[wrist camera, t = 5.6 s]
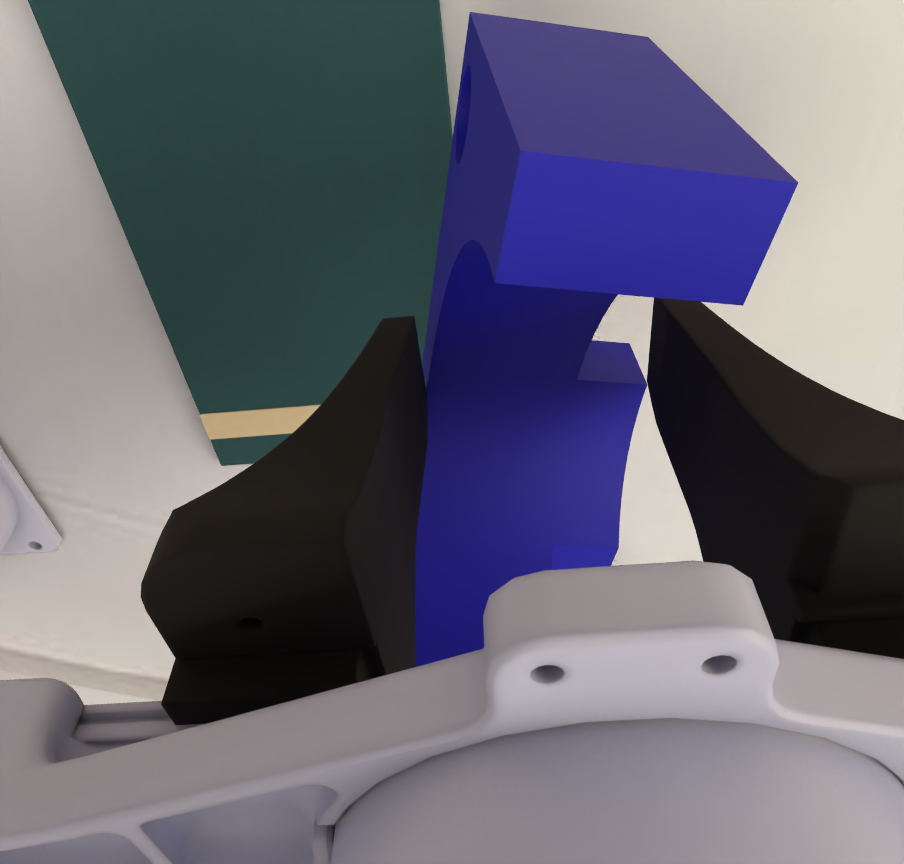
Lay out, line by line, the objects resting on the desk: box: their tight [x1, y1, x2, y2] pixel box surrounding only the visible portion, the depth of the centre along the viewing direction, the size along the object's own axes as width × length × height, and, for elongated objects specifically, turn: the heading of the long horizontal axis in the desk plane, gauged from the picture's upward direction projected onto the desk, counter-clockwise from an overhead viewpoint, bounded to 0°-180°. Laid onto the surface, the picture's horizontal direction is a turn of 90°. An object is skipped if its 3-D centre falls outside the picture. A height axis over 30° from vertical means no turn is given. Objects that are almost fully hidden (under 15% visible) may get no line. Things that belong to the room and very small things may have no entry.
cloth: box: [28, 0, 453, 466], centre depth 22 cm, size 10×20×1 cm, turn 6°
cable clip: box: [415, 12, 798, 667], centre depth 14 cm, size 12×4×6 cm, turn 172°
